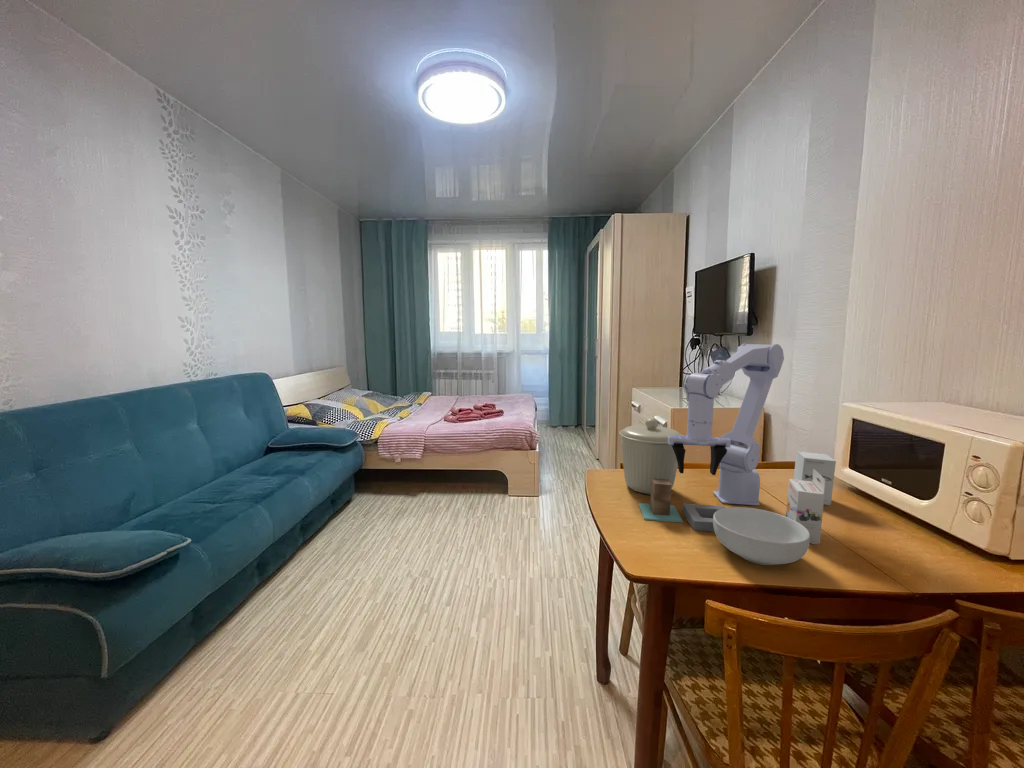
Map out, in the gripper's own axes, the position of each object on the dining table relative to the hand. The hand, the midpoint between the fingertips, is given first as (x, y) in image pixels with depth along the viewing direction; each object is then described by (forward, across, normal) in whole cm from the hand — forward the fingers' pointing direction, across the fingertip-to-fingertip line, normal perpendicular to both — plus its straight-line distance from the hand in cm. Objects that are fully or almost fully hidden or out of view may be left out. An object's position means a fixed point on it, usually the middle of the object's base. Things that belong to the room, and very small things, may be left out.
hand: (696, 472), depth 103 cm
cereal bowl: (+10, +7, -20) cm, 23 cm away
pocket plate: (+10, +2, -6) cm, 12 cm away
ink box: (+11, +21, -9) cm, 25 cm away
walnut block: (+10, -9, -3) cm, 14 cm away
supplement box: (+11, +35, +14) cm, 39 cm away
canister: (+10, -9, +14) cm, 20 cm away
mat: (+10, -9, -3) cm, 14 cm away
